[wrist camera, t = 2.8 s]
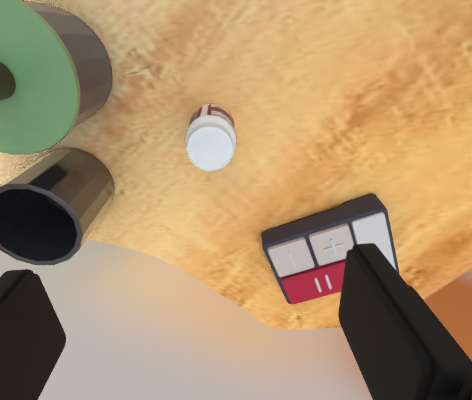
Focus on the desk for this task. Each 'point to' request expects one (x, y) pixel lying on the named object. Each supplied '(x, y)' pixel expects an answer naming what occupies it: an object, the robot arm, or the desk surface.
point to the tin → (81, 57)
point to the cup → (53, 206)
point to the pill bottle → (210, 137)
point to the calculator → (325, 247)
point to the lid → (34, 82)
